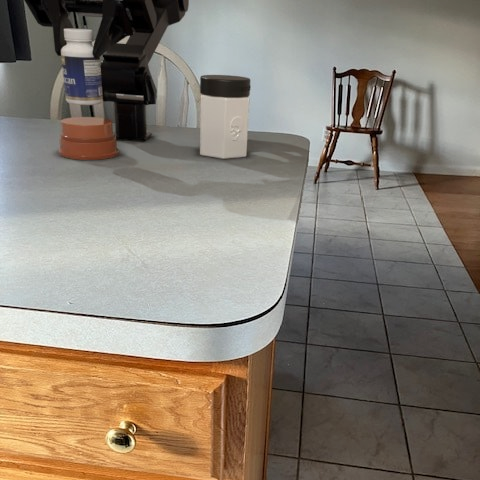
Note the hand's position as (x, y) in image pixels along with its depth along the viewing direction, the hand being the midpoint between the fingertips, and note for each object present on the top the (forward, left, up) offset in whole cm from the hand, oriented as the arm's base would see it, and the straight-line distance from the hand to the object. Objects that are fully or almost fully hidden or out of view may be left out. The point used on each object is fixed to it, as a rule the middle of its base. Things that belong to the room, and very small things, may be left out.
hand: (75, 55), depth 77 cm
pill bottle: (-1, 0, -7) cm, 7 cm away
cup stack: (-4, -1, -15) cm, 15 cm away
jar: (-11, +20, -15) cm, 27 cm away
